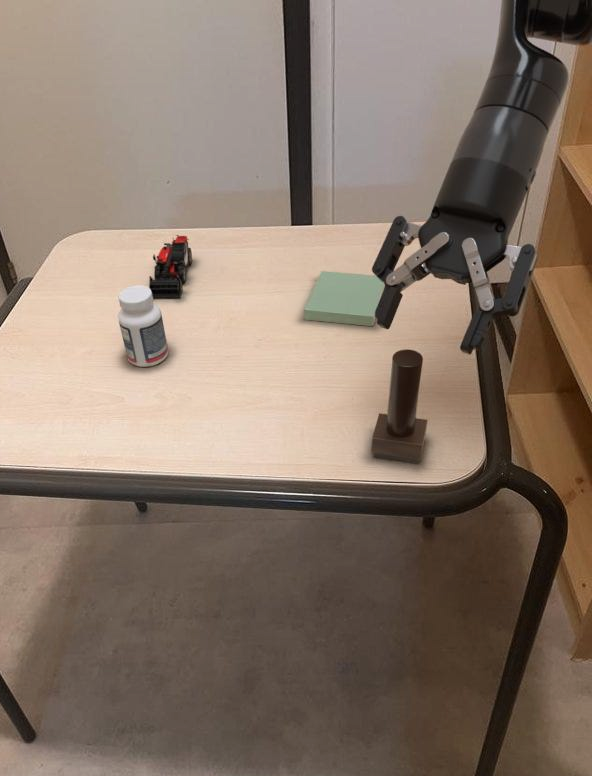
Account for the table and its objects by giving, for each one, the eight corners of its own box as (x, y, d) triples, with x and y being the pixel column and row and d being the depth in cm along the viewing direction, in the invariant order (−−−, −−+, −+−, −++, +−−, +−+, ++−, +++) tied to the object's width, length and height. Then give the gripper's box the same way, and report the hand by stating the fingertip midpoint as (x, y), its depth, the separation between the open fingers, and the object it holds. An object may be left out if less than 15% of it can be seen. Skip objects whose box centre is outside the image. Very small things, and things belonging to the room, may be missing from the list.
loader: (181, 298, 100) (176, 268, 97) (149, 299, 101) (143, 268, 98) (195, 256, 109) (191, 226, 105) (165, 256, 109) (160, 227, 106)
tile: (386, 286, 98) (386, 276, 97) (373, 326, 92) (373, 316, 91) (321, 280, 101) (321, 270, 100) (304, 319, 94) (303, 309, 93)
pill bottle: (173, 344, 93) (162, 282, 86) (162, 368, 89) (151, 306, 83) (133, 342, 94) (120, 281, 87) (122, 367, 90) (107, 305, 84)
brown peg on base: (424, 439, 76) (437, 348, 68) (419, 465, 73) (432, 373, 65) (377, 433, 77) (384, 342, 69) (370, 458, 75) (377, 367, 67)
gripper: (409, 142, 67) (344, 309, 69) (565, 168, 60) (488, 351, 62) (428, 178, 74) (368, 329, 75) (570, 204, 67) (501, 369, 69)
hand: (422, 339), depth 69 cm, fingers open, 8 cm apart
